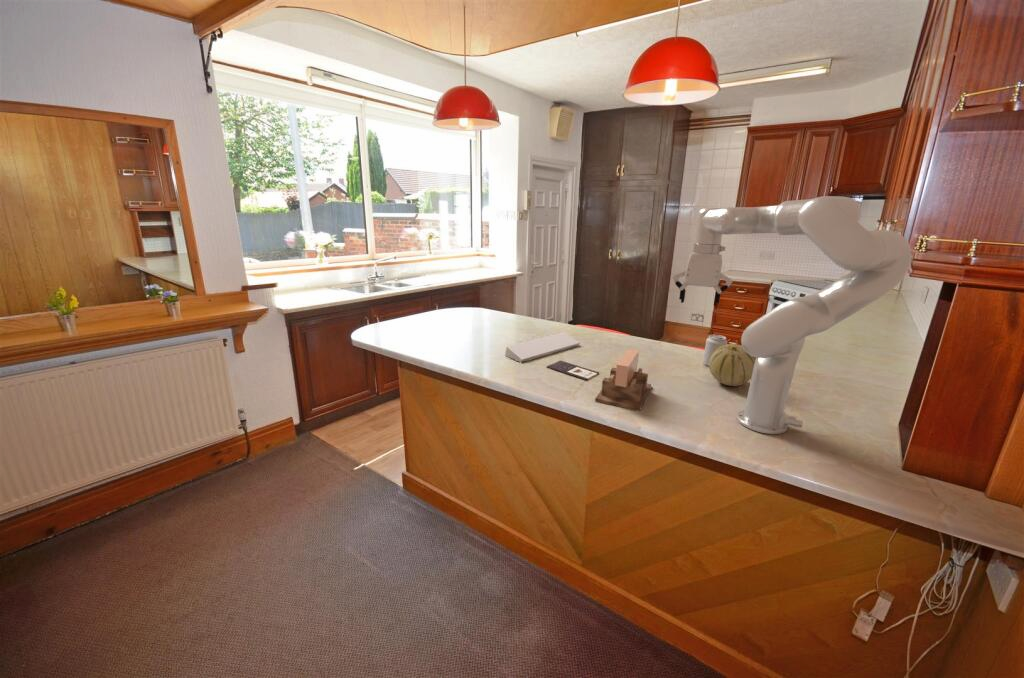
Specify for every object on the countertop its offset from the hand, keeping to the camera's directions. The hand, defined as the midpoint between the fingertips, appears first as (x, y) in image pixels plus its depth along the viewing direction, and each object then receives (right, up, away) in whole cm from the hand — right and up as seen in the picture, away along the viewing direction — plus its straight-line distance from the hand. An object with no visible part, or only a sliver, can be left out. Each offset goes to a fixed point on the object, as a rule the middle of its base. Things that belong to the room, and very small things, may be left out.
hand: (698, 303), depth 133 cm
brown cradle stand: (-22, -30, +6) cm, 38 cm away
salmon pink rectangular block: (-22, -24, +4) cm, 33 cm away
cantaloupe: (+17, -28, +14) cm, 35 cm away
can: (+20, -22, +31) cm, 43 cm away
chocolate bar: (-37, -24, +25) cm, 51 cm away
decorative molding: (-46, -17, +46) cm, 68 cm away
